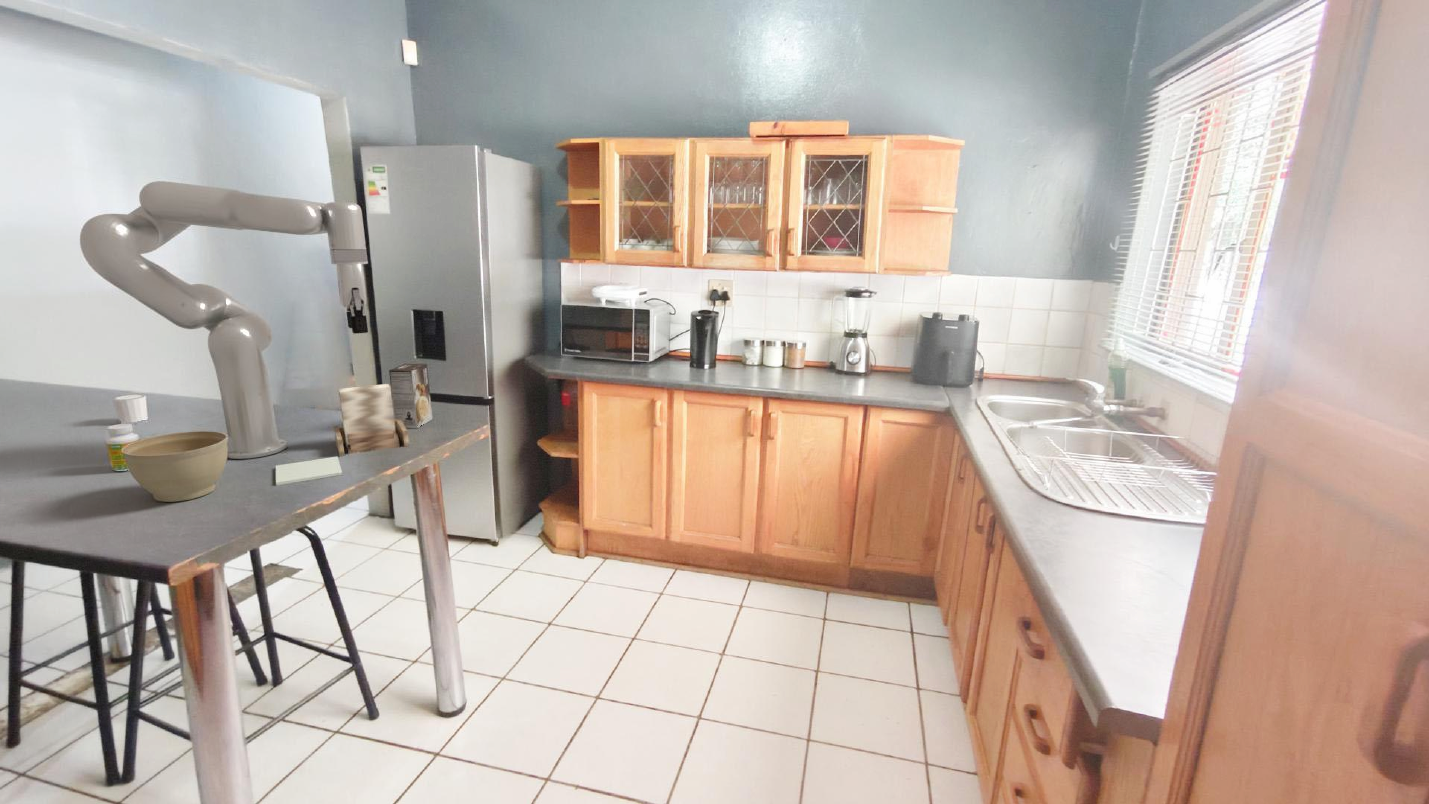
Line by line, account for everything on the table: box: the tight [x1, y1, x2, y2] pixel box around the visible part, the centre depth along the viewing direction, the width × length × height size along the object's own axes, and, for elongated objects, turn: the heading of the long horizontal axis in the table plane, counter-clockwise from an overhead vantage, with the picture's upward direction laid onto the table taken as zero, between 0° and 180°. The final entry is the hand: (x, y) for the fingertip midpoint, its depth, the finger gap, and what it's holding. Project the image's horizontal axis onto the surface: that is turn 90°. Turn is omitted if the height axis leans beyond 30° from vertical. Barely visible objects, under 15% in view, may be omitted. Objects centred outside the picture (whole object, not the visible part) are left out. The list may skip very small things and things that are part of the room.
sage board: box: [275, 456, 343, 486], centre depth 143 cm, size 12×12×1 cm
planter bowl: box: [121, 430, 228, 503], centre depth 129 cm, size 16×16×11 cm
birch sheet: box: [337, 383, 396, 447], centre depth 162 cm, size 11×4×14 cm, turn 123°
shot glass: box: [111, 393, 149, 422], centre depth 176 cm, size 7×7×7 cm
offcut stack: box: [346, 429, 400, 455], centre depth 159 cm, size 11×5×4 cm, turn 122°
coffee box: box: [388, 363, 434, 429], centre depth 178 cm, size 9×6×16 cm
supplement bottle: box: [105, 423, 141, 470], centre depth 142 cm, size 5×5×10 cm
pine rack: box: [333, 419, 410, 457], centre depth 161 cm, size 15×12×4 cm
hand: (358, 330), depth 156 cm, fingers open, 9 cm apart
